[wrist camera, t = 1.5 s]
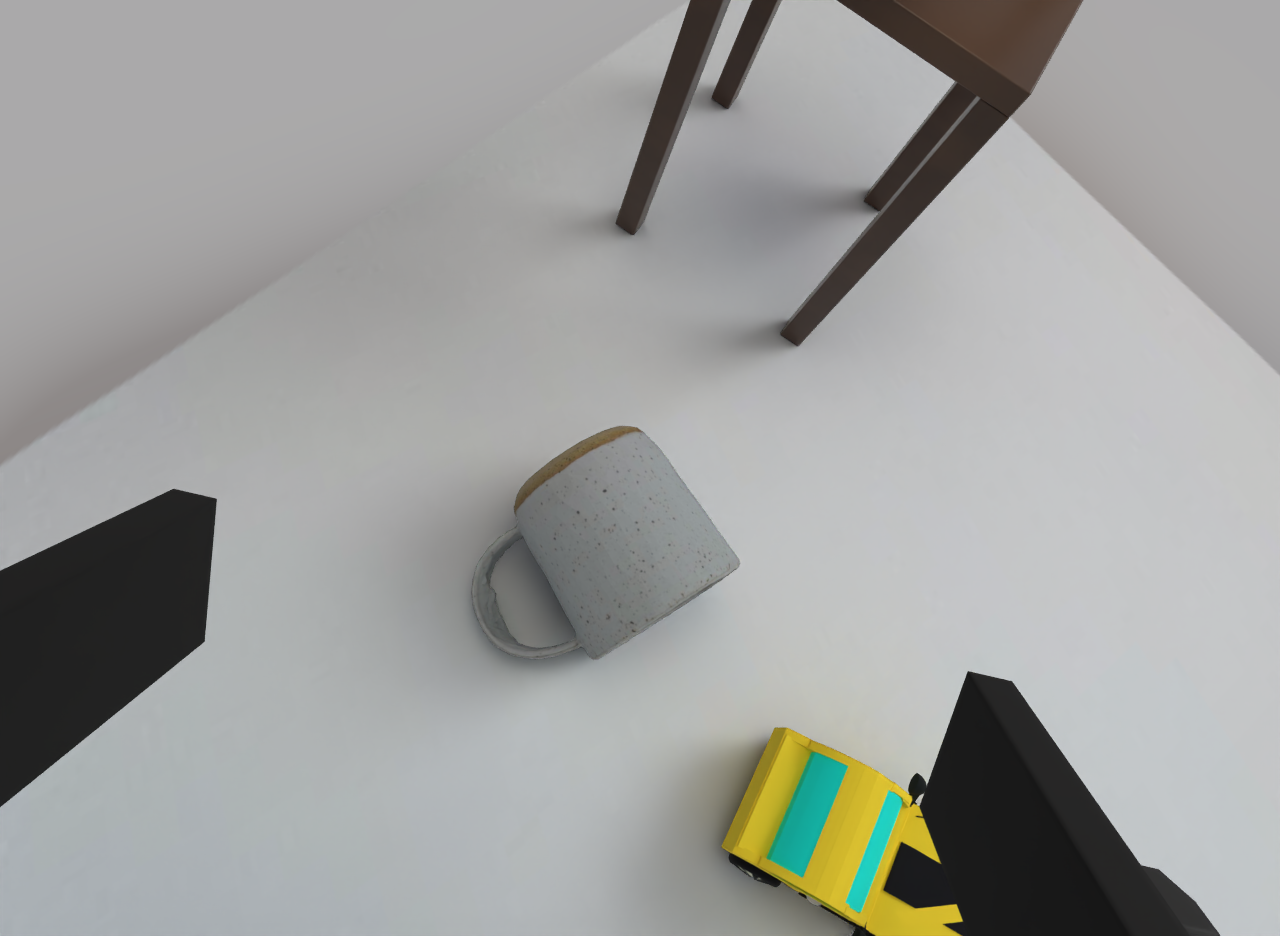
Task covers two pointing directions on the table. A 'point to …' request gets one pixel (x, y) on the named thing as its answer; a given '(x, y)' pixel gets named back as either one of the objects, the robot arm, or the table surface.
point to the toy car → (842, 840)
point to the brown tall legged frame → (943, 144)
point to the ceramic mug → (608, 543)
